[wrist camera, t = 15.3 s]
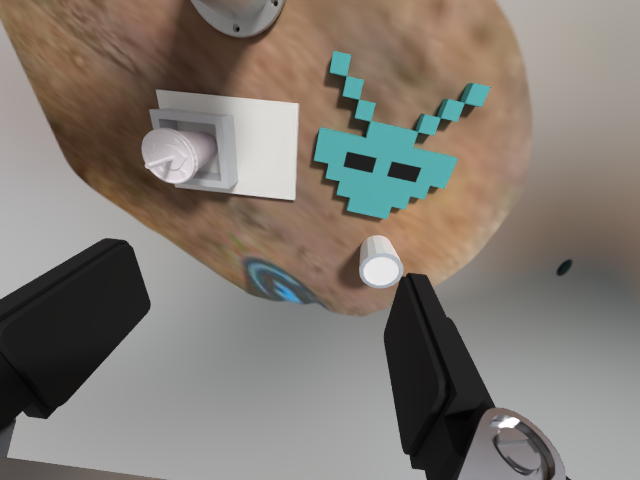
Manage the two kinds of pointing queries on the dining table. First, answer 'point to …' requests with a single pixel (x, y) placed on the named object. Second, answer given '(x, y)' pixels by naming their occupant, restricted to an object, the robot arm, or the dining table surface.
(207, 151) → the smoothie
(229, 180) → the bottle stand
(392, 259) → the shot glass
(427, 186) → the alien figure
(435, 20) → the dining table surface
